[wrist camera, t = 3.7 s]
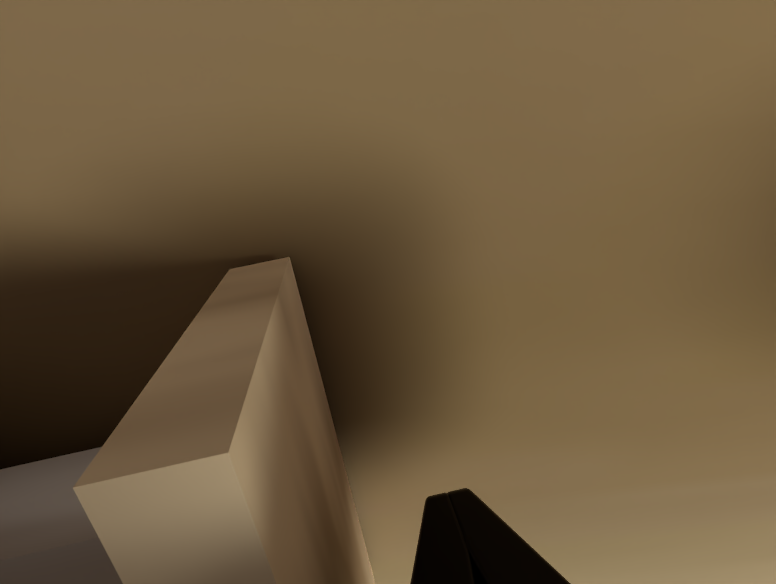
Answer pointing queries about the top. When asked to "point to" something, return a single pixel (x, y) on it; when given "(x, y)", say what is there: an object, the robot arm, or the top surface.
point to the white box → (202, 465)
